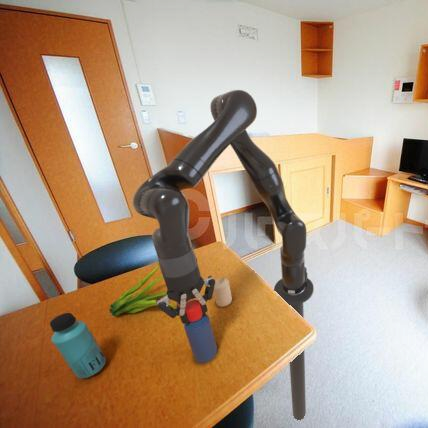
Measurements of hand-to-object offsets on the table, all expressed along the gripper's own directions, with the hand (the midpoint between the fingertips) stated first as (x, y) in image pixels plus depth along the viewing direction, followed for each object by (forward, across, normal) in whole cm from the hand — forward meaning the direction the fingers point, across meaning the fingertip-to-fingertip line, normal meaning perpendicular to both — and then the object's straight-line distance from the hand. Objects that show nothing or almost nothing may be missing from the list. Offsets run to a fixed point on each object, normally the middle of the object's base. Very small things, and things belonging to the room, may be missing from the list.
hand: (195, 317), depth 64 cm
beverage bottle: (+15, +24, -16) cm, 33 cm away
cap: (-1, 0, 0) cm, 1 cm away
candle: (+15, -12, -16) cm, 25 cm away
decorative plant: (+15, +3, -32) cm, 35 cm away
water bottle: (+15, 0, 0) cm, 15 cm away
